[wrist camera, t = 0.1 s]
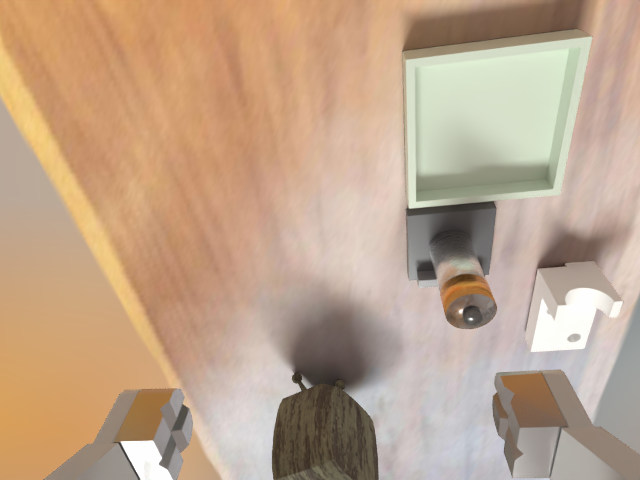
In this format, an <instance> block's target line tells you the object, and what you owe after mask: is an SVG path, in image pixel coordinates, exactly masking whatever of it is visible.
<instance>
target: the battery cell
mask: <svg viewBox="0 0 640 480" xmlns="http://www.w3.org/2000/svg"><path fill="white" fill-rule="evenodd" d="M429 252H430V255H431V259H432V263H433V267H434V271H435V275H436V279H437V283H438V286H439V290H440V296H441V300H442V304H443V308H444V312H445V315H446V319H447V321H448V322H449V323H450V324H451V325H453V326H454V327H457V328H461V329H474V328H478V327H481V326H483V325H485V324H487V323H488V322H490V321H491V320H492V319H493V318H494V316H495V314H496V311H497V306H496V303H495V300H494V298H493V295H492V293H491V290H490V287H489V285H488V283H487V281H486V279H485V276H484V273H483V271H482V268H481V266H480V263H479V261H478V258H477V255H476V253H475V250H474V248H473V245H472V243H471V240H470V238H469V236H468V235H467V234H466V233H464V232H462V231H459V230H447V231H444V232H441V233H439V234H438V235H436V236H435V237H434V238H433V239H432V241H431V242H430V245H429Z"/></svg>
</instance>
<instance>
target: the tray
mask: <svg viewBox="0 0 640 480" xmlns="http://www.w3.org/2000/svg"><path fill="white" fill-rule="evenodd" d="M592 37H593V36H591V35H589V34H587V33H585V32H583V31H581V30H579V29H572V30H564V31H556V32H549V33H541V34H533V35H525V36H517V37H509V38H502V39H494V40H486V41H478V42H470V43H462V44H455V45H447V46H439V47H431V48H423V49H415V50H408V51H402V62H403V103H404V145H405V186H406V198H407V203H408V207H409V209H411V208H422V207H432V206H443V205H454V204H465V203H476V202H487V201H498V200H509V199H520V198H531V197H542V196H553V195H560V191H561V187H562V182H563V177H564V172H565V167H566V162H567V158H568V153H569V148H570V143H571V138H572V133H573V129H574V124H575V119H576V114H577V109H578V104H579V100H580V95H581V90H582V85H583V80H584V75H585V71H586V66H587V61H588V56H589V51H590V47H591V42H592Z"/></svg>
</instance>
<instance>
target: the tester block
mask: <svg viewBox="0 0 640 480" xmlns="http://www.w3.org/2000/svg"><path fill="white" fill-rule="evenodd" d="M495 216H496V206H495V205H494V203H493V201H490V202H479V203H468V204H458V205H447V206H436V207H425V208H414V209H406V227H407V268H408V278H409V280H417V282H418V287H419V288H426V287H439V286H438V283H437V279H436V275H435V271H434V267H433V263H432V259H431V255H430V252H429V245H430V242H431V241H432V239H433V238H434V237H435V236H436V235H438V234H439V233H441V232H444V231H447V230H459V231H462V232H464V233H466V234H467V235H468V236H469V238H470V240H471V243H472V245H473V248H474V250H475V253H476V255H477V258H478V261H479V263H480V266H481V268H482V271H483V273H484V276H485V275H489V269H490V260H491V251H492V242H493V234H494V225H495Z"/></svg>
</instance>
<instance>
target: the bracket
mask: <svg viewBox="0 0 640 480" xmlns="http://www.w3.org/2000/svg"><path fill="white" fill-rule="evenodd" d="M622 303H623V300H622V299H621V297H620V296H619V295H618V293H617V292H616V290H615V289H614V288H613V286H612V285H611V283H610V282H609V281H608V279H607V278H606V277H605V275H604V274H603V272H602V271H601V270H600V268H599V267H598V265H597V264H596V263H595V261H586V262H573V263H565V265H564V267H554V268H541V269H538V271H537V276H536V281H535V286H534V292H533V297H532V302H531V307H530V312H529V317H528V323H527V328H526V333H525V340H526V342H527V344H528V347H529V349H530V351H531V352H537V351H554V350H570V349H584V348H585V344H586V341H587V338H588V335H589V332H590V329H591V325H592V322H593V319H594V316H595V313H596V309H597V308H598V309H600V310H602V311H603V312H604V313H605V314H606V315H607V316H608V317H609V318H611V317H618V314H619V311H620V309H621V306H622Z"/></svg>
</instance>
